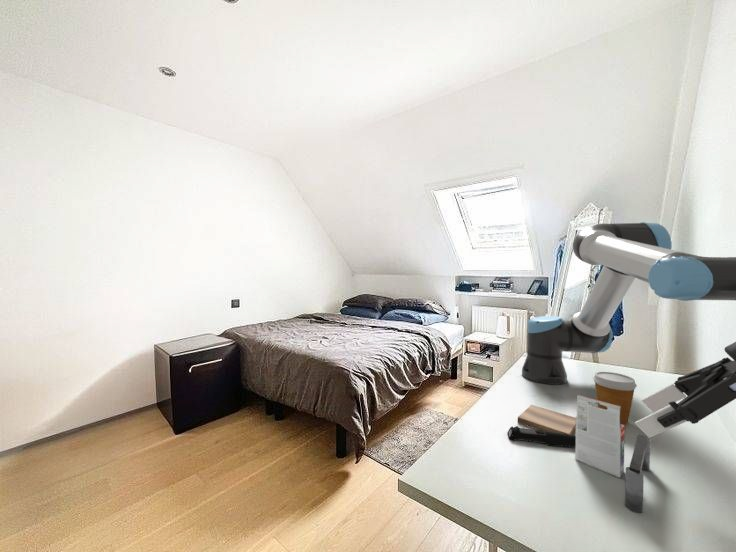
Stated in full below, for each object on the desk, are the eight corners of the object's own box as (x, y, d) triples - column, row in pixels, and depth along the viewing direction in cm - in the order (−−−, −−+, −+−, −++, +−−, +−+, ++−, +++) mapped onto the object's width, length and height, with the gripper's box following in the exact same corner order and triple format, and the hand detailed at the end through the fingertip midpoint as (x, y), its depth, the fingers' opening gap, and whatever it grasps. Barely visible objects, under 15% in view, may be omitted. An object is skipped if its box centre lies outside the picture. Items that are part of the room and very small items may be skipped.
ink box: (580, 453, 70) (581, 390, 70) (624, 471, 64) (626, 401, 64) (574, 460, 68) (575, 394, 67) (620, 479, 62) (621, 406, 61)
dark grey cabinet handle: (635, 462, 67) (635, 430, 67) (650, 467, 65) (650, 434, 65) (623, 507, 54) (624, 468, 54) (642, 515, 53) (643, 475, 52)
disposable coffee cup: (644, 429, 81) (645, 384, 80) (603, 426, 83) (604, 381, 82) (622, 413, 90) (623, 372, 90) (585, 410, 92) (586, 370, 92)
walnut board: (531, 409, 92) (531, 404, 92) (579, 424, 84) (579, 418, 84) (517, 422, 84) (517, 417, 84) (568, 439, 76) (569, 433, 76)
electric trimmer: (582, 454, 71) (583, 440, 71) (509, 441, 76) (509, 429, 75) (576, 445, 75) (577, 432, 74) (506, 434, 79) (507, 421, 79)
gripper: (830, 399, 38) (661, 465, 49) (782, 358, 56) (665, 413, 67) (762, 349, 42) (618, 420, 53) (737, 325, 60) (633, 383, 70)
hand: (644, 417), depth 60 cm, fingers open, 13 cm apart
